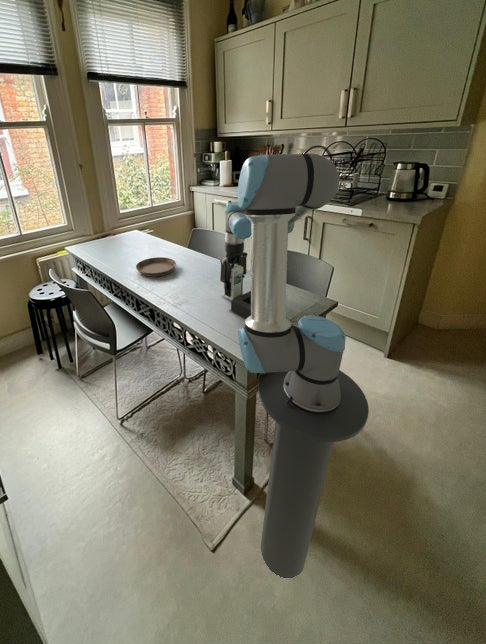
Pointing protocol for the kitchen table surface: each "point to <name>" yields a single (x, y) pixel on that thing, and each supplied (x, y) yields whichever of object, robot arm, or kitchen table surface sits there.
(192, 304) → the kitchen table surface
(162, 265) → the plant saucer
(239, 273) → the syrup box
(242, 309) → the dock
